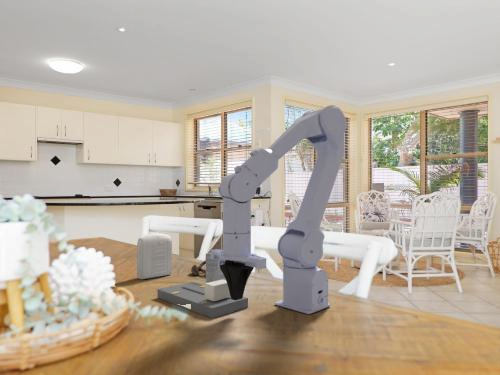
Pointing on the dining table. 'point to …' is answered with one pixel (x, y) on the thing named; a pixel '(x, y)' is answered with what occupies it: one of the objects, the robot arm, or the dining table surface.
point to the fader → (216, 290)
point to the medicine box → (213, 269)
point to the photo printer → (154, 256)
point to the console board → (200, 299)
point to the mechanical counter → (198, 269)
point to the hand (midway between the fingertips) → (236, 298)
